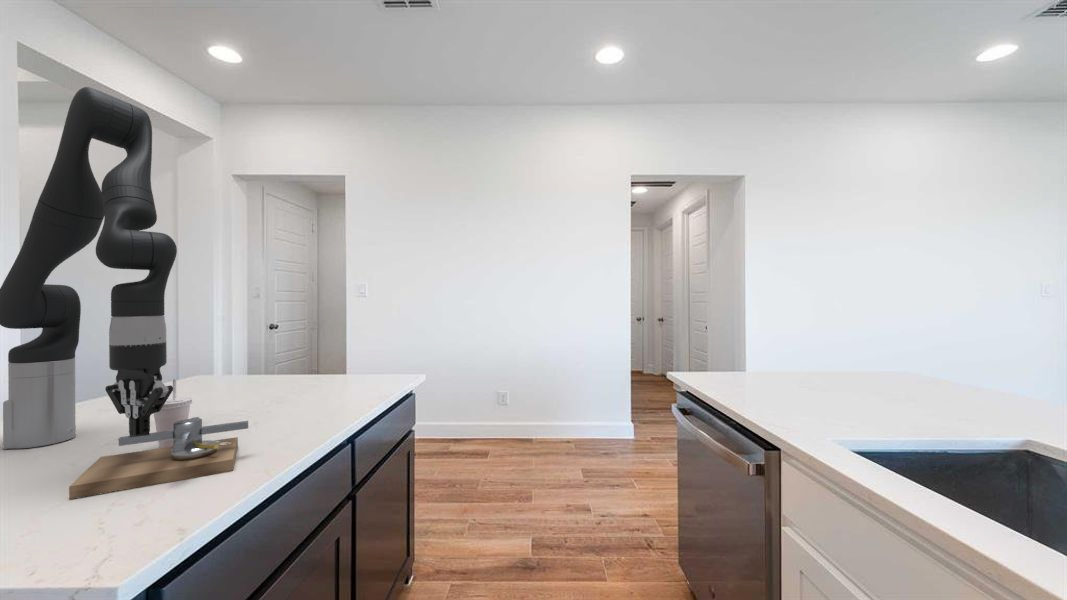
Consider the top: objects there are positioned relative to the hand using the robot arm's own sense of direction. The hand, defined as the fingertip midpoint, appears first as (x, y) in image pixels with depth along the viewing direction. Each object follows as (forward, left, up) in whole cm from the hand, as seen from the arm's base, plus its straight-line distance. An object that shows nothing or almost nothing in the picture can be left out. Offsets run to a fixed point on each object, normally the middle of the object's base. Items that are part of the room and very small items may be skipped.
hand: (139, 437), depth 76 cm
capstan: (+7, -4, -3) cm, 9 cm away
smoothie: (+3, +9, -5) cm, 11 cm away
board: (+4, -4, -5) cm, 8 cm away
